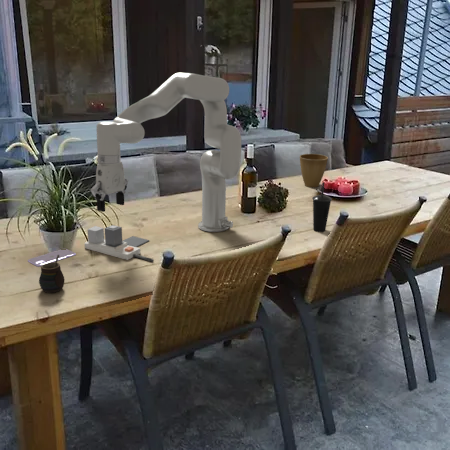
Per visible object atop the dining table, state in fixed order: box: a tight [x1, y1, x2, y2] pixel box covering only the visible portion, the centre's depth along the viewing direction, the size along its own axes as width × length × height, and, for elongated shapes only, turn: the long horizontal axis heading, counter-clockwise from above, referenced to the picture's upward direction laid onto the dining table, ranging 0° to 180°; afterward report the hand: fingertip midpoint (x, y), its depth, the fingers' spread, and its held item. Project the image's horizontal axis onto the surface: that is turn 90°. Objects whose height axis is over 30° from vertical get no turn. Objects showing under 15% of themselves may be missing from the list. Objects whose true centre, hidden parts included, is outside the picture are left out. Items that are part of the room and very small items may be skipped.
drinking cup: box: [312, 182, 332, 233], centre depth 208 cm, size 8×8×20 cm
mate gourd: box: [38, 255, 65, 294], centre depth 154 cm, size 7×8×10 cm
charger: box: [104, 224, 123, 247], centre depth 183 cm, size 4×4×7 cm
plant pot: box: [299, 153, 329, 188], centre depth 276 cm, size 15×15×16 cm
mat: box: [122, 235, 150, 248], centre depth 194 cm, size 8×8×1 cm
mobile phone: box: [27, 248, 77, 267], centre depth 178 cm, size 8×1×15 cm
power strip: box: [84, 225, 155, 263], centre depth 182 cm, size 28×7×7 cm, turn 60°
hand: (110, 207), depth 179 cm, fingers open, 9 cm apart
